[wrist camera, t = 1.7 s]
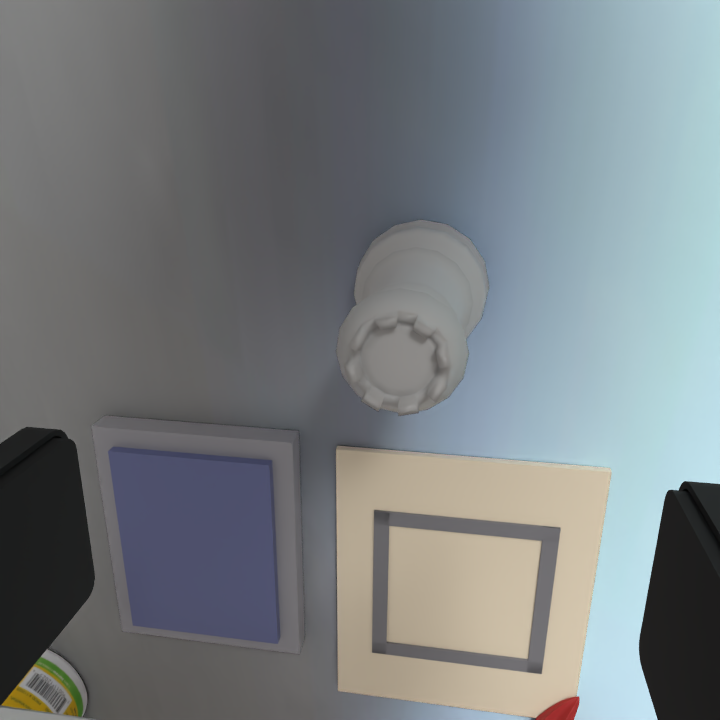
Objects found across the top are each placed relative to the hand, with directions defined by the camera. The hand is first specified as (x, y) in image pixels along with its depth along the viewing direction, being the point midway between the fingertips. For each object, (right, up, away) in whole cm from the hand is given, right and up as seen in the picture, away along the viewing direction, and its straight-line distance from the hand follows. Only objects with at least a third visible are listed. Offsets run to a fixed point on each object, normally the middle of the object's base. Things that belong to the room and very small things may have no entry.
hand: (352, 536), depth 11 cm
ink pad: (-6, -4, +18) cm, 19 cm away
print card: (+4, -6, +17) cm, 18 cm away
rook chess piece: (+2, +5, +13) cm, 14 cm away
